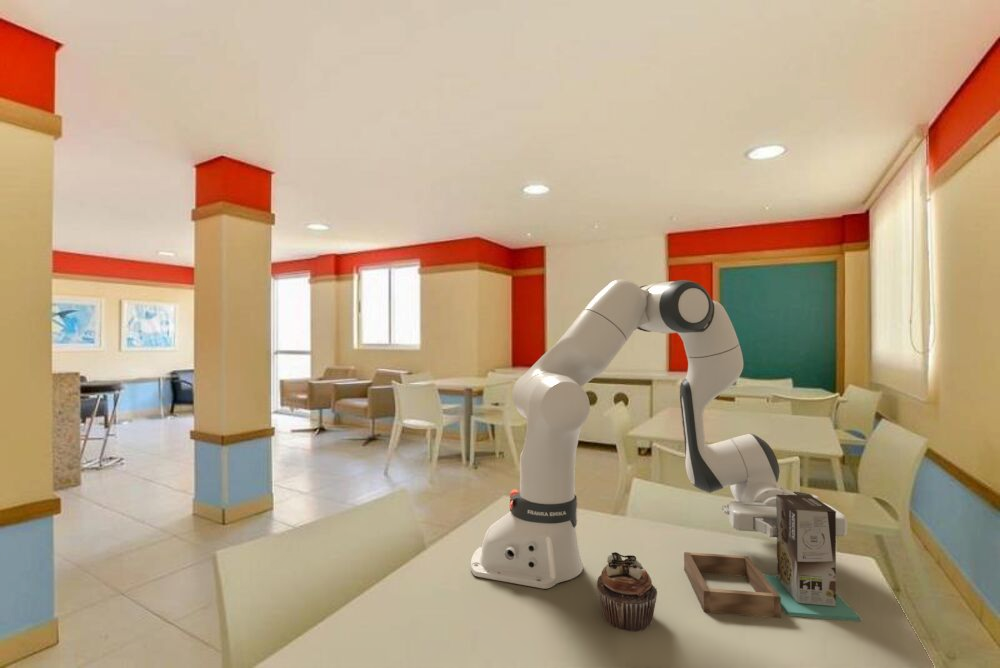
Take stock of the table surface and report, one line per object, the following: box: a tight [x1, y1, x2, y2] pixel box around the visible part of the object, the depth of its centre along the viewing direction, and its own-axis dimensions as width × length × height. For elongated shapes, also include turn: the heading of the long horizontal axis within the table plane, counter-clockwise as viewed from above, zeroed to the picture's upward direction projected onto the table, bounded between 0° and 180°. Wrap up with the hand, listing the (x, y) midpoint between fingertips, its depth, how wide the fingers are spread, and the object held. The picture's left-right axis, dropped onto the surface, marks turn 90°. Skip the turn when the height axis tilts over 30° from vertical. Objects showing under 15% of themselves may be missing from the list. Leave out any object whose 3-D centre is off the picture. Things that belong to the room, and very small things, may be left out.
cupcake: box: [596, 551, 658, 632], centre depth 80 cm, size 10×10×10 cm
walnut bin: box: [683, 551, 782, 619], centre depth 88 cm, size 12×15×4 cm
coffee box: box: [776, 495, 837, 606], centre depth 87 cm, size 9×6×16 cm
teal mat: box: [763, 574, 862, 622], centre depth 86 cm, size 11×13×1 cm
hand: (802, 534), depth 88 cm, fingers open, 8 cm apart
